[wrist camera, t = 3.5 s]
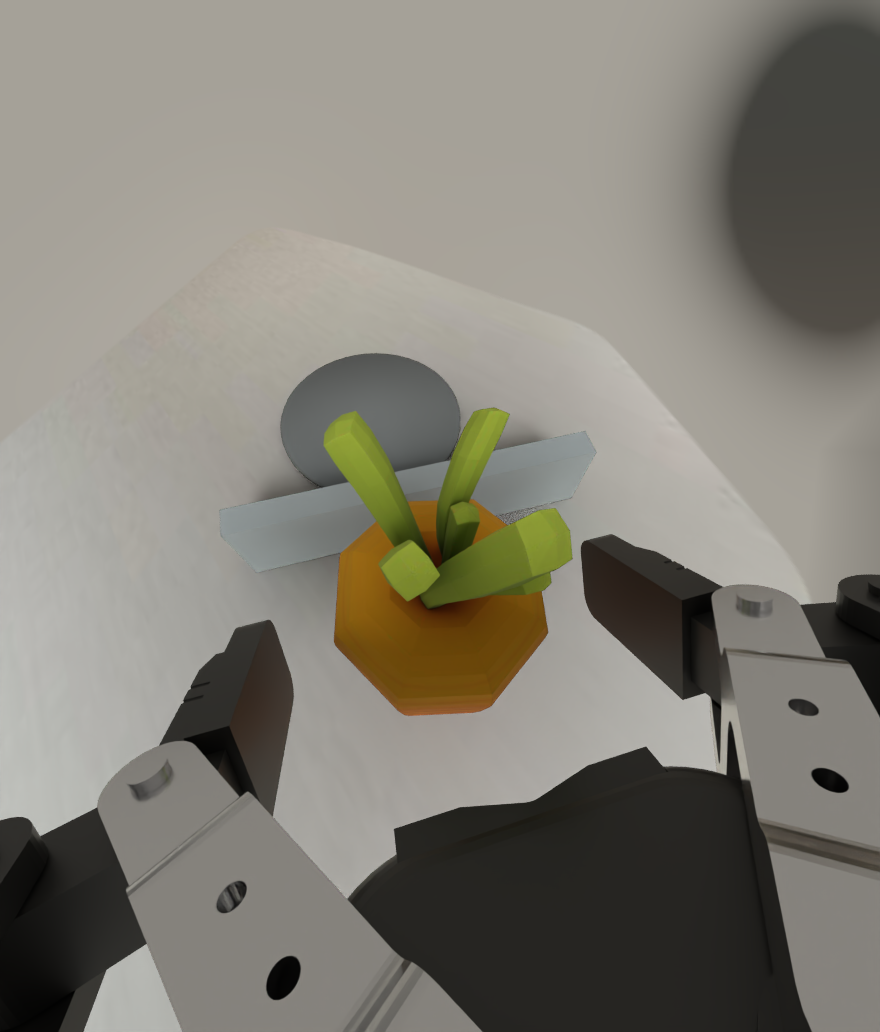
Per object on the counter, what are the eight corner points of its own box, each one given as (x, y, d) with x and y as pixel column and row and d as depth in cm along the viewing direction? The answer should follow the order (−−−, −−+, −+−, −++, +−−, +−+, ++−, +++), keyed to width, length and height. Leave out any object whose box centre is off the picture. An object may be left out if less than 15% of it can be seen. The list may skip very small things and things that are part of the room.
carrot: (360, 640, 19) (205, 401, 6) (462, 594, 20) (518, 305, 7) (404, 757, 17) (316, 781, 4) (515, 699, 18) (735, 566, 5)
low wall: (256, 572, 21) (220, 536, 17) (254, 550, 21) (219, 510, 18) (571, 497, 23) (596, 451, 19) (562, 479, 23) (585, 431, 20)
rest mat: (293, 516, 22) (291, 512, 22) (274, 374, 27) (272, 369, 26) (482, 473, 24) (483, 469, 23) (434, 346, 28) (434, 341, 28)
